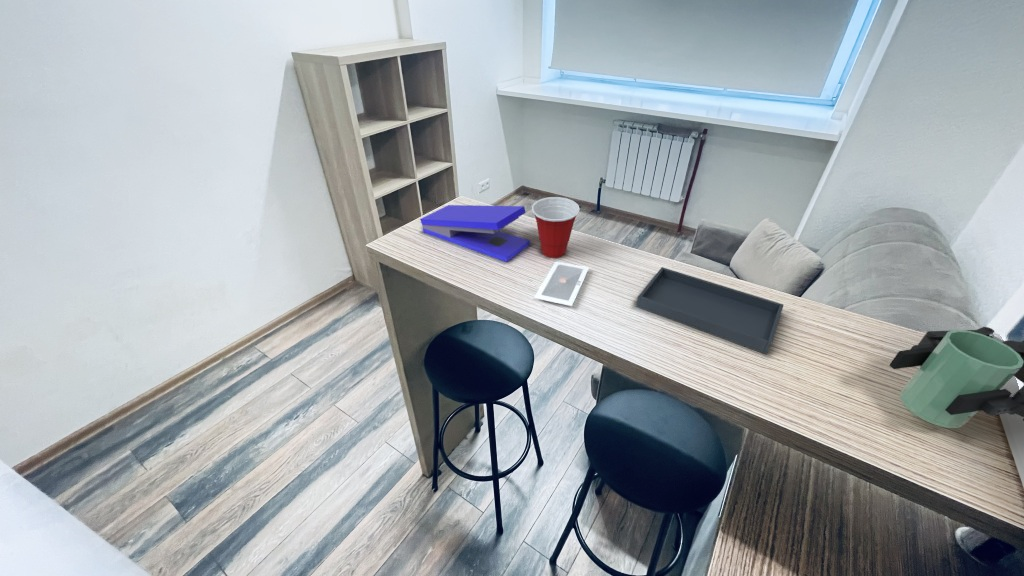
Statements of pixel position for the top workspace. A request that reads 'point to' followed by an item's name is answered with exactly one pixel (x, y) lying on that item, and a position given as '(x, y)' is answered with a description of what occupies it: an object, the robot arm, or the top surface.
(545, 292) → the touchpad
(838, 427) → the top surface
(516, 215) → the stapler
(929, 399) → the tumbler
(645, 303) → the tray
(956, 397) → the robot arm
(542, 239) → the plastic cup
